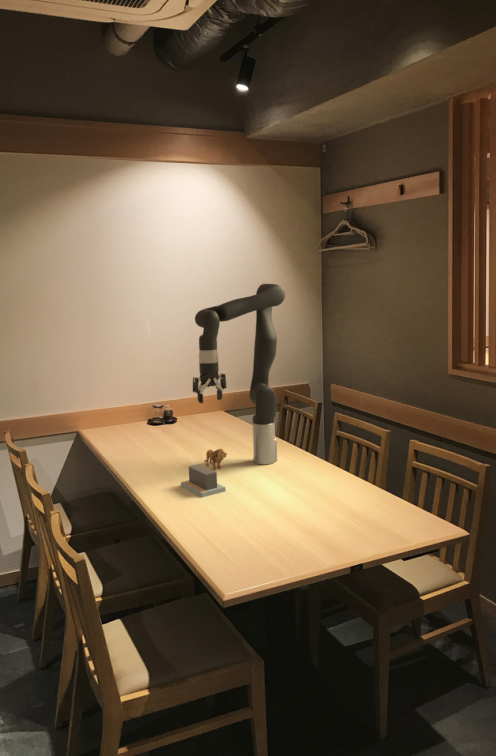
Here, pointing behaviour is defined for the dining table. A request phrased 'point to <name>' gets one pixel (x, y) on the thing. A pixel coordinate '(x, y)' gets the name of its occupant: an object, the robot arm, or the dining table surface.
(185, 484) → the board
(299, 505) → the dining table surface
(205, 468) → the block
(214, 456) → the lion figurine
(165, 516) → the dining table surface
